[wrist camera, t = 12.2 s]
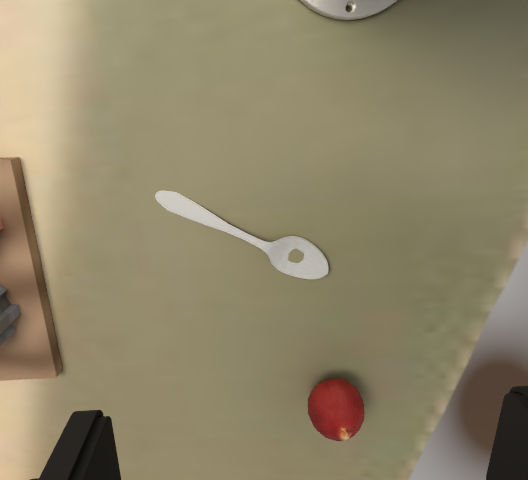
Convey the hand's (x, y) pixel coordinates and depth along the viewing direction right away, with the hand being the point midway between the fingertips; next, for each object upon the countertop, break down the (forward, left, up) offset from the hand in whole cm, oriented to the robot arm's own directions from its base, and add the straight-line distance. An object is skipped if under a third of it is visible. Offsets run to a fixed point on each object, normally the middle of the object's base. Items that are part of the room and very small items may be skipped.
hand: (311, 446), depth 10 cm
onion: (+23, +8, -31) cm, 39 cm away
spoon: (+4, -2, -31) cm, 31 cm away
